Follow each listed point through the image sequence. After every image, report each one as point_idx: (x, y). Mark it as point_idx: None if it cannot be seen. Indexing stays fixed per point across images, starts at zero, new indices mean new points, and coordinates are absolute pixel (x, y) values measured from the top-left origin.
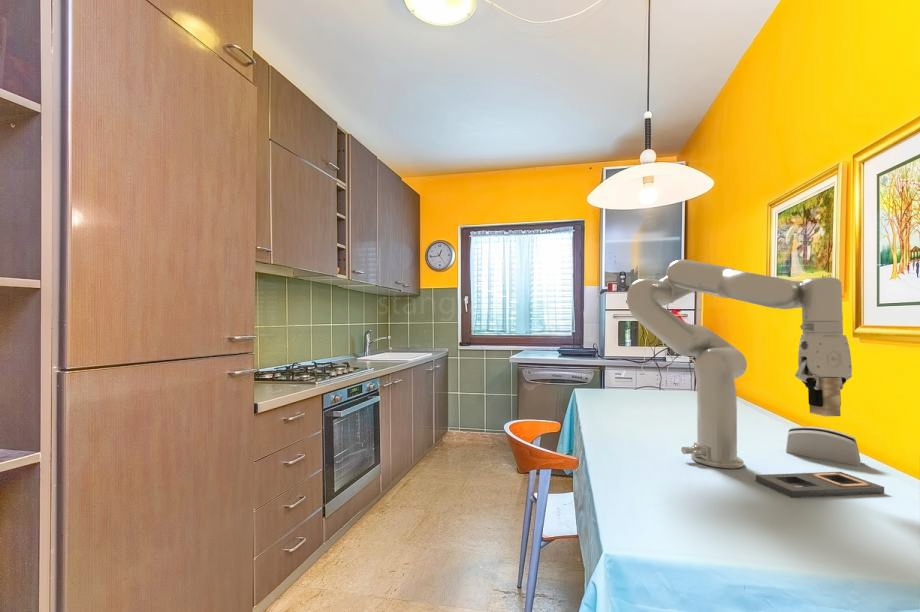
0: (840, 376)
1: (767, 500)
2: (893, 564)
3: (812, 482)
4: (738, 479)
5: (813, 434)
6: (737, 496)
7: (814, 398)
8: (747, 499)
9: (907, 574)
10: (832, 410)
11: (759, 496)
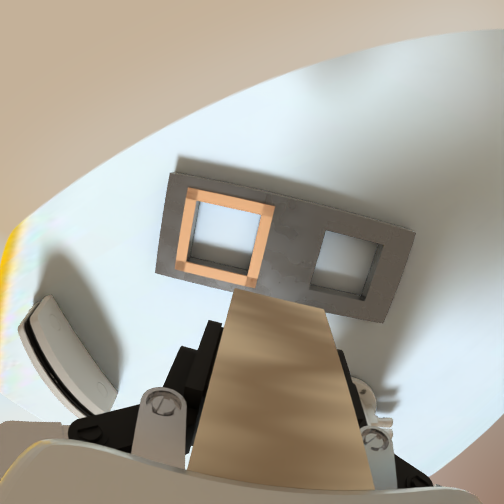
0: (203, 476)
1: (460, 239)
2: (494, 45)
3: (313, 250)
4: (399, 332)
5: (77, 383)
6: (481, 271)
7: (358, 396)
8: (481, 255)
9: (499, 32)
10: (283, 314)
11: (454, 257)
